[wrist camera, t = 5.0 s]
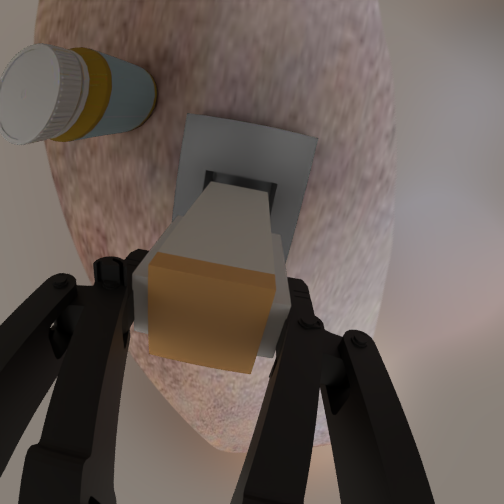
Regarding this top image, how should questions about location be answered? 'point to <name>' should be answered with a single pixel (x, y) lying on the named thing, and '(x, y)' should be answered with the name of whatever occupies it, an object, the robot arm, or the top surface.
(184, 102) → the top surface
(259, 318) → the plug
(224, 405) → the top surface
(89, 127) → the bottle
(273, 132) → the gray socket block
